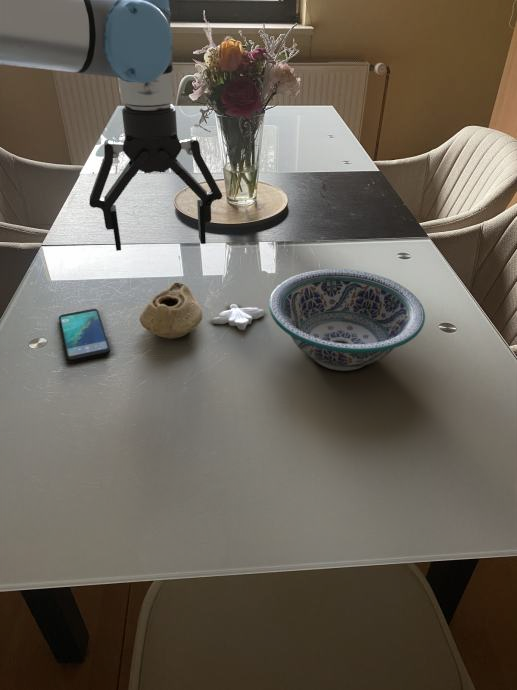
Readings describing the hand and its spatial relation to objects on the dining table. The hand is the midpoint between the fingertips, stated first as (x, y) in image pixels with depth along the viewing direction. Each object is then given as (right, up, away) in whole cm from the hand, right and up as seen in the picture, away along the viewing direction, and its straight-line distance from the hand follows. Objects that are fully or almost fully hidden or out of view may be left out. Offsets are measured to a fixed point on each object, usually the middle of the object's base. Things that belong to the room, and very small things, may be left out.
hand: (161, 243), depth 88 cm
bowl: (+30, -18, +5) cm, 35 cm away
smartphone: (-15, -15, +7) cm, 23 cm away
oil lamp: (0, -13, +10) cm, 17 cm away
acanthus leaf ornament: (+12, -12, +13) cm, 21 cm away
